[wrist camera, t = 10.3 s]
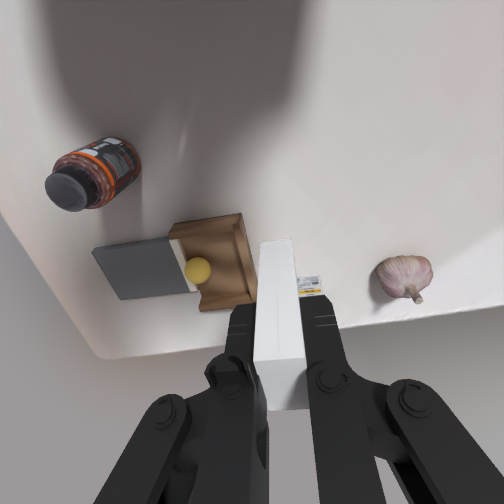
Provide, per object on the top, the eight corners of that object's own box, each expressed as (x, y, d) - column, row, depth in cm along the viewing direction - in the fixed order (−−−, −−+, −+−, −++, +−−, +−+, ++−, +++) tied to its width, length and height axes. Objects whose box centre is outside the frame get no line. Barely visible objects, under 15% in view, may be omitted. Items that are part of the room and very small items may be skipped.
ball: (195, 249, 44) (175, 263, 42) (211, 255, 41) (190, 271, 39) (203, 269, 46) (184, 284, 44) (219, 276, 44) (199, 292, 41)
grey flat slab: (95, 248, 44) (91, 252, 43) (178, 235, 42) (176, 239, 41) (123, 295, 50) (120, 300, 49) (198, 286, 48) (197, 290, 47)
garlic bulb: (364, 266, 44) (381, 302, 37) (407, 236, 40) (434, 270, 34) (392, 292, 46) (412, 330, 39) (435, 266, 43) (465, 303, 36)
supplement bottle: (107, 124, 34) (45, 147, 25) (150, 158, 36) (107, 191, 27) (87, 162, 37) (25, 195, 27) (128, 191, 39) (83, 231, 29)
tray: (174, 223, 41) (168, 233, 39) (241, 212, 40) (239, 222, 37) (203, 299, 49) (200, 311, 47) (260, 292, 48) (259, 305, 45)
